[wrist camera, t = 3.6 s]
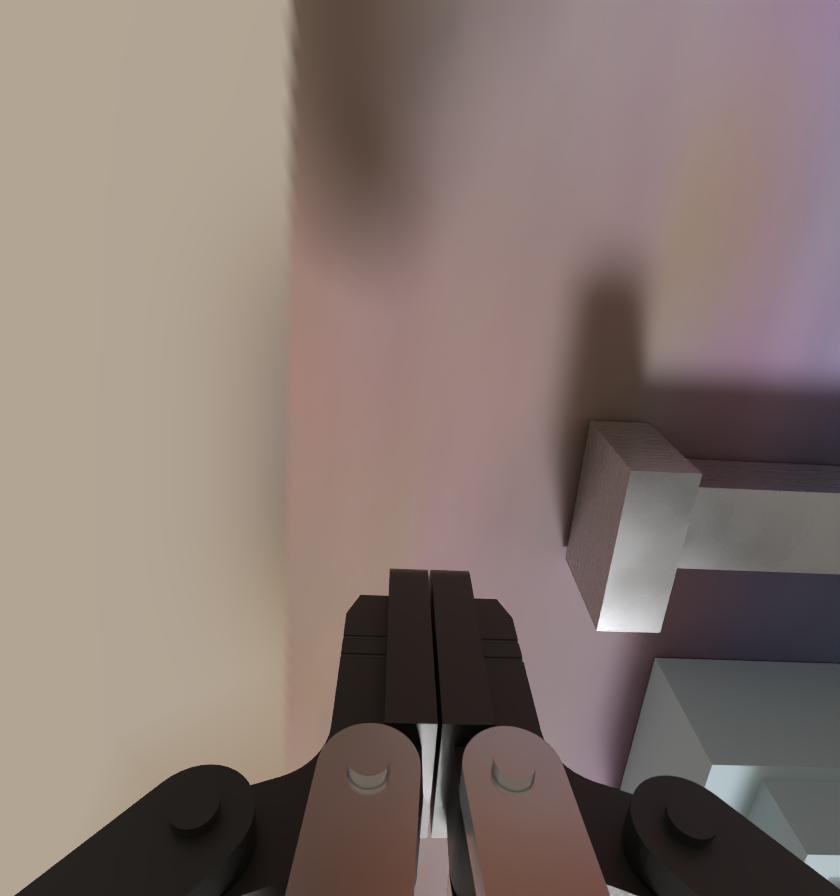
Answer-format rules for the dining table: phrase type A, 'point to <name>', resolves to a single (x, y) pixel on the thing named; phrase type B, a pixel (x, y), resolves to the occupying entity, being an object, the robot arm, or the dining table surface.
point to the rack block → (751, 745)
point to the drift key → (688, 522)
